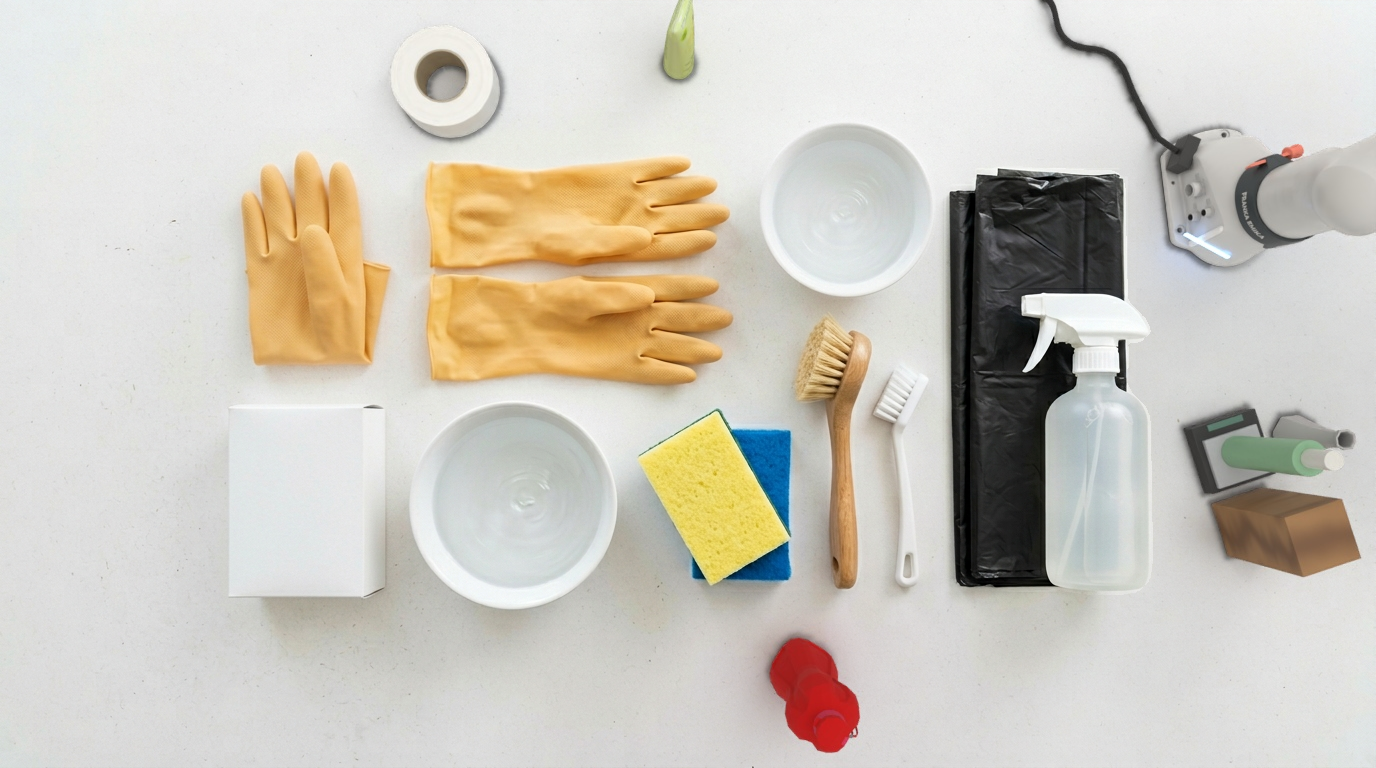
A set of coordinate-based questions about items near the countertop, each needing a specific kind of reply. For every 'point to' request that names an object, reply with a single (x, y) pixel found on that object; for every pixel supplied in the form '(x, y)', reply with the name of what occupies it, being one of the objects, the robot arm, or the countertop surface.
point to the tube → (680, 41)
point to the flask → (1313, 433)
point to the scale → (1209, 443)
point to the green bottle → (1280, 455)
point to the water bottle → (814, 696)
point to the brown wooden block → (1287, 530)
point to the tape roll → (430, 54)
